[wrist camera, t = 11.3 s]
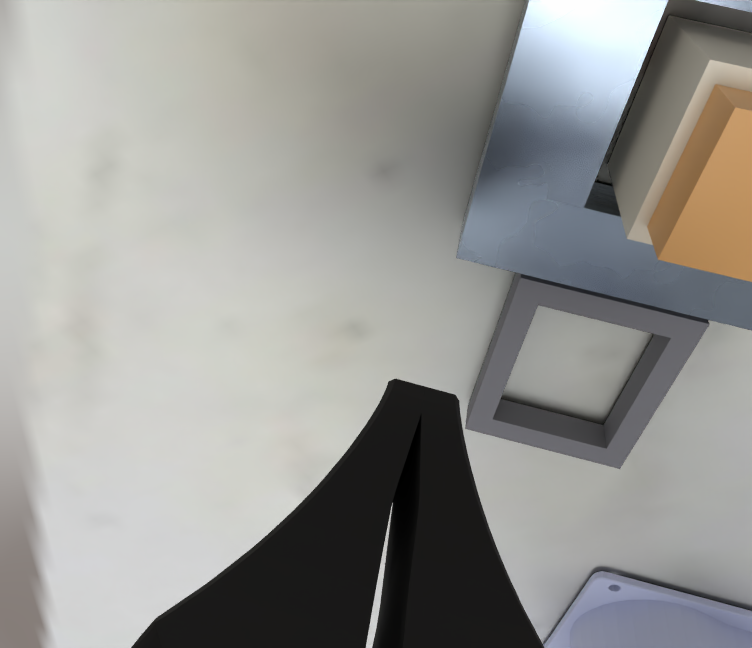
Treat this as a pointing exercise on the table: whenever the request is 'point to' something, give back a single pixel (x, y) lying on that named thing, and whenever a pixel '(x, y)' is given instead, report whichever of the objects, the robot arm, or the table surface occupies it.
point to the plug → (691, 151)
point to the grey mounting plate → (564, 432)
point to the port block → (578, 163)
